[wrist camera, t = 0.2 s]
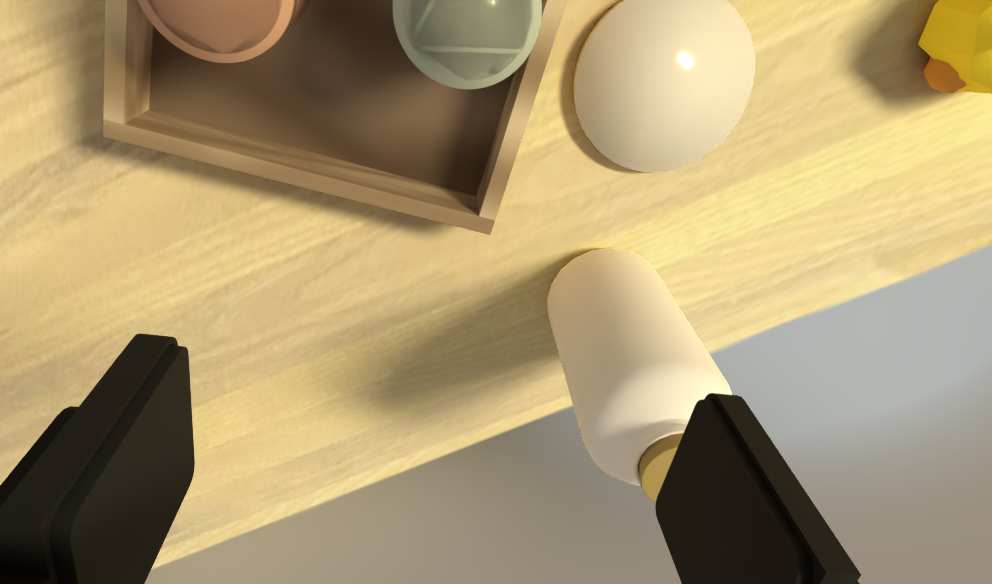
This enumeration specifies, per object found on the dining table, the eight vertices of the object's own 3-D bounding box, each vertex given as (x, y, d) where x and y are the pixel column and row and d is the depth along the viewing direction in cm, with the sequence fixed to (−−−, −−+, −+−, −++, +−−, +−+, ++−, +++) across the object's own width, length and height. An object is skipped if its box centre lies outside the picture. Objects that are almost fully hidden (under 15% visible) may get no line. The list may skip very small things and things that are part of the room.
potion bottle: (665, 323, 48) (773, 511, 32) (559, 353, 48) (615, 552, 33) (647, 227, 44) (761, 389, 28) (532, 261, 44) (580, 438, 29)
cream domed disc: (613, -44, 35) (617, -44, 35) (782, 17, 38) (788, 19, 37) (548, 142, 40) (550, 146, 40) (700, 186, 42) (705, 191, 42)
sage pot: (418, -91, 33) (412, -98, 26) (539, -47, 34) (562, -44, 28) (389, 42, 36) (378, 65, 30) (502, 77, 37) (515, 106, 31)
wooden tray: (150, -307, 29) (85, -362, 23) (595, -132, 33) (624, -145, 28) (134, 118, 38) (84, 147, 32) (486, 210, 42) (492, 248, 37)
